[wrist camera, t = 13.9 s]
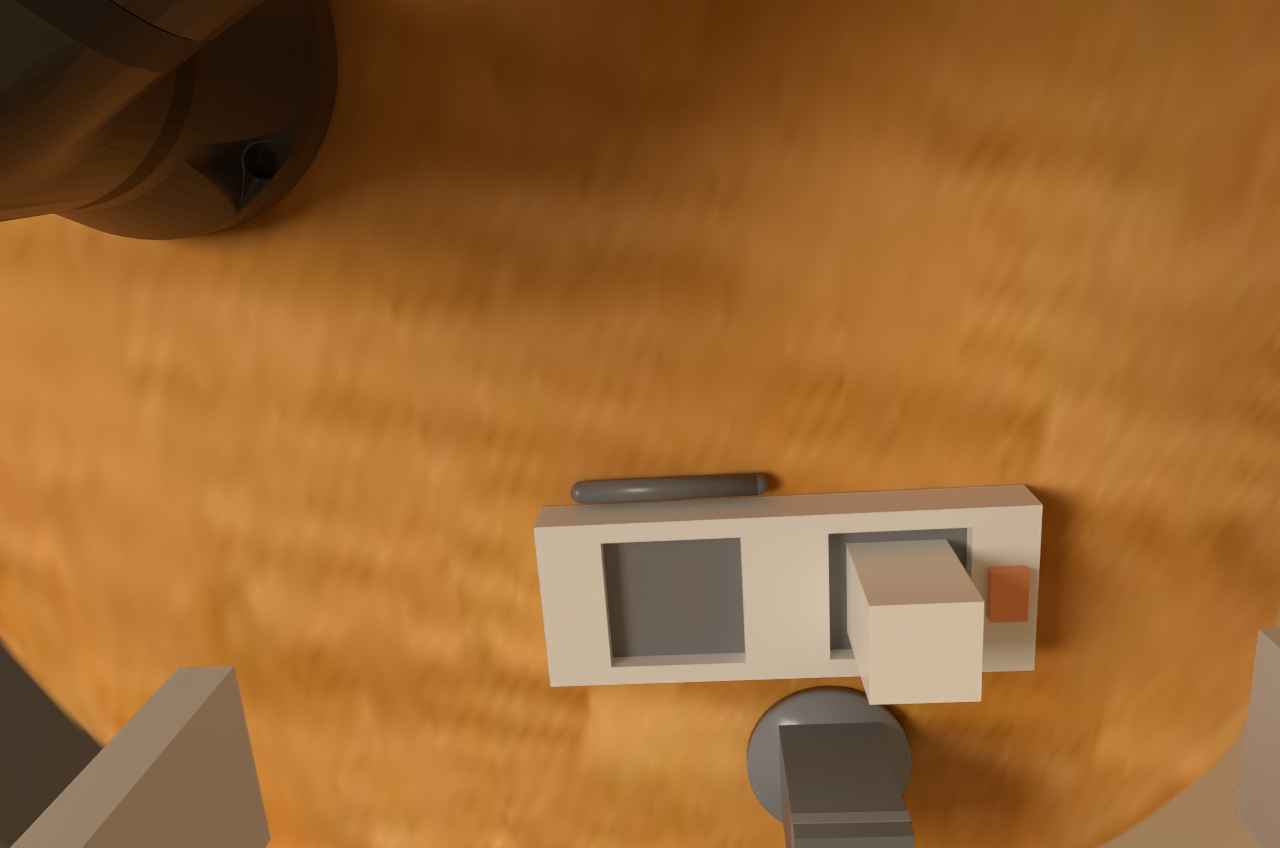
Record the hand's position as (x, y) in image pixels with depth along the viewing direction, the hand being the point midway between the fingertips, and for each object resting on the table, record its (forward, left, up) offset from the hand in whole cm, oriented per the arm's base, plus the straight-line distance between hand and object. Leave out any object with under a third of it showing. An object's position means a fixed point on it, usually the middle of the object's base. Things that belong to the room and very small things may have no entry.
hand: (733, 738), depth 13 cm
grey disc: (+5, -23, -32) cm, 39 cm away
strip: (+3, -13, -32) cm, 34 cm away
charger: (+5, -23, -31) cm, 39 cm away
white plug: (+8, -13, -30) cm, 34 cm away
